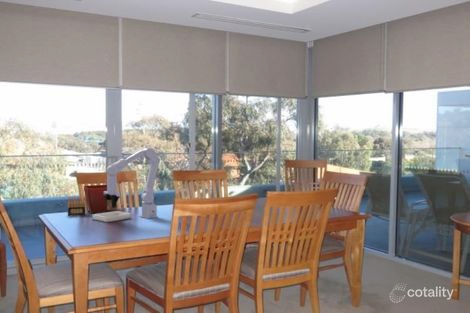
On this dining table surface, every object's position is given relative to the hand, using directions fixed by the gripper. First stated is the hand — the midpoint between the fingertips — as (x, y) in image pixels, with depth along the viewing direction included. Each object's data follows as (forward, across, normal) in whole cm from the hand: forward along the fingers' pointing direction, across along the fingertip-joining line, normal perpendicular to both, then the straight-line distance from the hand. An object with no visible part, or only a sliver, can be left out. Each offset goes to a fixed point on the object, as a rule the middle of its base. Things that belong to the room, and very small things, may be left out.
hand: (111, 206), depth 281 cm
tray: (+8, 0, 0) cm, 8 cm away
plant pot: (+8, -30, +12) cm, 33 cm away
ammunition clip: (+8, -28, -7) cm, 30 cm away
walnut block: (+2, 0, 0) cm, 2 cm away
